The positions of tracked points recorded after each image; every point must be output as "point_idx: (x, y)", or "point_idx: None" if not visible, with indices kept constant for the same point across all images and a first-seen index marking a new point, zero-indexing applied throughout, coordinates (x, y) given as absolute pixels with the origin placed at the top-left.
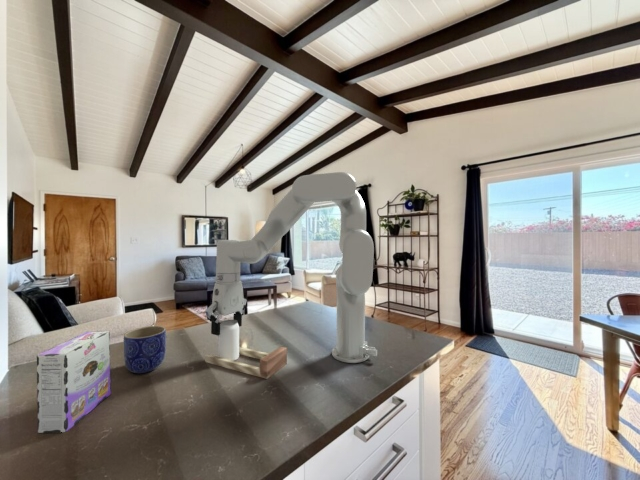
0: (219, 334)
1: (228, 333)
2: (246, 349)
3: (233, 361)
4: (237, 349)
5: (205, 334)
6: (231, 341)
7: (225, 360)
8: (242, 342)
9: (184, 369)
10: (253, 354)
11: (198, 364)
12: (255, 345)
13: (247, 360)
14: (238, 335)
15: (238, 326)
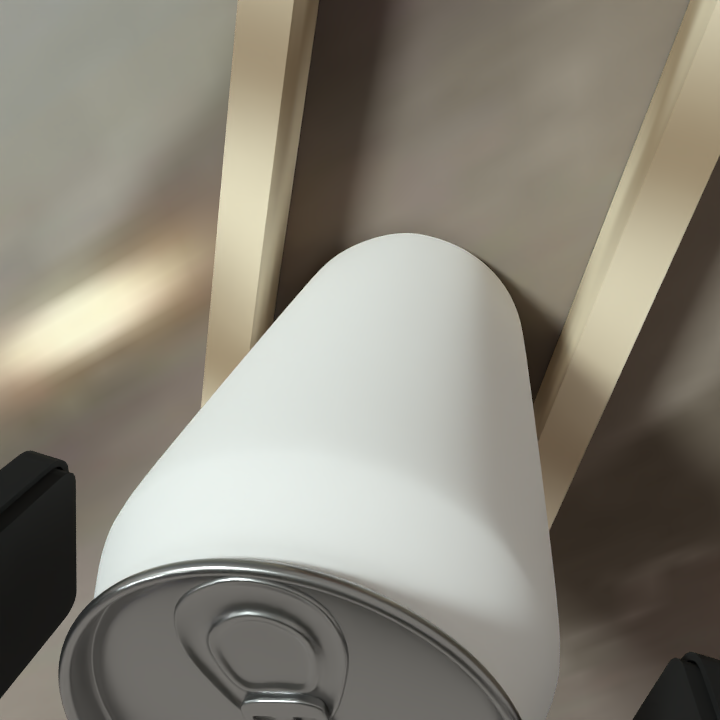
0: (715, 662)
1: (535, 524)
2: (252, 195)
3: (659, 180)
4: (403, 265)
5: (43, 717)
6: (497, 381)
7: (638, 303)
8: (17, 383)
9: (702, 612)
10: (300, 48)
11: (587, 551)
12: (8, 208)
13: (403, 93)
14: (323, 346)
15: (237, 457)
